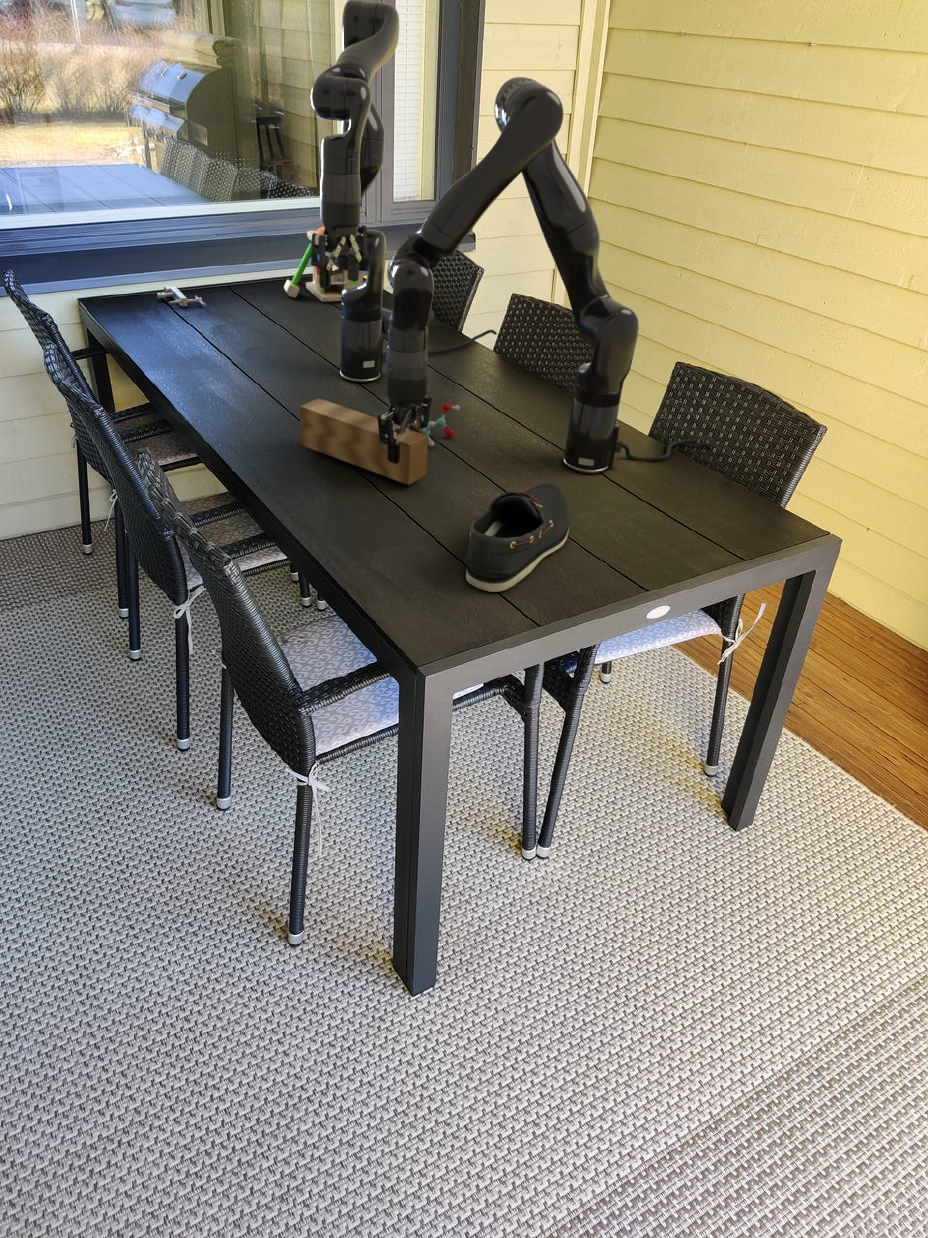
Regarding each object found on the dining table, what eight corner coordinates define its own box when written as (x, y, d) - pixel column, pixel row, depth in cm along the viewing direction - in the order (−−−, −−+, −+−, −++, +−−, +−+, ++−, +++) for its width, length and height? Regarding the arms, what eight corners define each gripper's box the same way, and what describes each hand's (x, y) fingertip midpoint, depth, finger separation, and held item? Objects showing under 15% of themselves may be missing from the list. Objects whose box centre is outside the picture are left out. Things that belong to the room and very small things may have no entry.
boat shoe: (593, 526, 180) (600, 474, 174) (502, 598, 156) (507, 541, 151) (532, 507, 186) (537, 456, 180) (435, 574, 162) (438, 517, 156)
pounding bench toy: (292, 303, 272) (291, 236, 262) (277, 288, 282) (276, 223, 272) (370, 299, 281) (372, 234, 271) (352, 285, 292) (353, 221, 282)
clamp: (153, 286, 267) (189, 284, 272) (153, 294, 268) (189, 292, 273) (168, 303, 257) (206, 300, 261) (169, 311, 258) (206, 308, 263)
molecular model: (451, 439, 197) (435, 390, 196) (410, 454, 201) (394, 406, 199) (469, 435, 207) (454, 389, 206) (430, 449, 211) (415, 404, 210)
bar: (300, 444, 195) (299, 406, 190) (319, 436, 199) (318, 397, 194) (408, 485, 184) (410, 445, 179) (425, 474, 188) (428, 435, 183)
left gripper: (331, 205, 178) (331, 295, 187) (379, 195, 188) (376, 281, 197) (300, 197, 181) (300, 286, 190) (348, 188, 191) (347, 273, 200)
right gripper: (399, 387, 169) (396, 475, 179) (446, 365, 179) (441, 450, 189) (365, 375, 172) (364, 463, 182) (413, 355, 182) (409, 439, 192)
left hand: (339, 284), depth 194 cm, fingers open, 8 cm apart
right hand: (403, 456), depth 185 cm, fingers closed on bar, 5 cm apart
